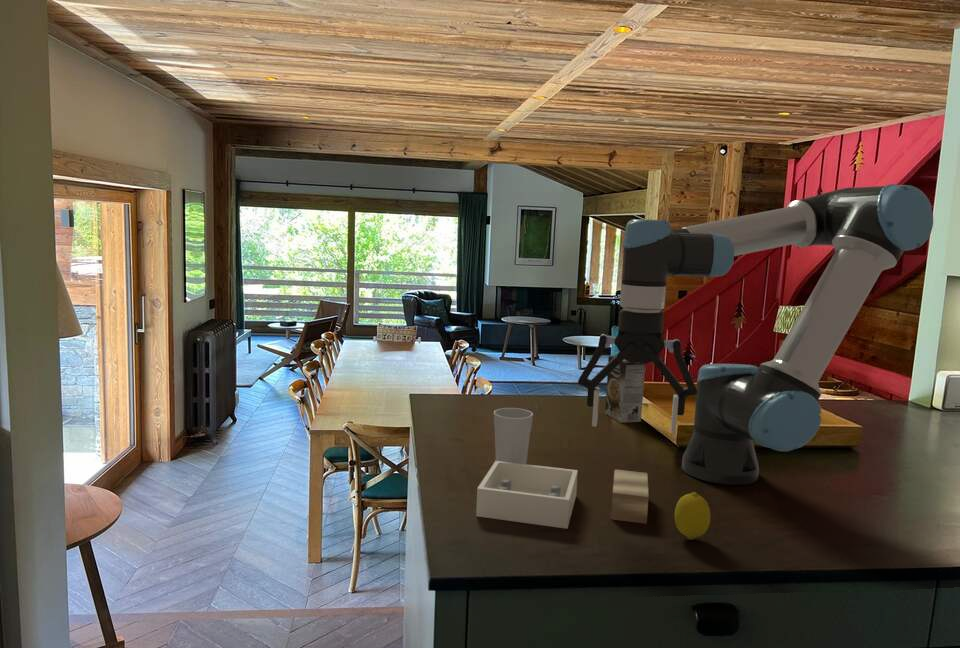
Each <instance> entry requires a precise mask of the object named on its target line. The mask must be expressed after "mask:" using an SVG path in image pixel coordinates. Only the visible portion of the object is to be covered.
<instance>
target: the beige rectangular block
mask: <svg viewBox="0 0 960 648" xmlns="http://www.w3.org/2000/svg"><path fill="white" fill-rule="evenodd" d="M613 473H614V474H613V485H612V495H611V496H612V499H611V509H610V510H611V513H610V519H611V520H615V521H621V522H623V521H624V522H629V523H630V522H632V523H638V524H647V522H648V510H649V509H648V508H649V496H650V495H649V481H648V479H649V478H648V472H643V471H642V472H641V471H633V470H632V471H631V470H624V469H614V472H613Z"/></svg>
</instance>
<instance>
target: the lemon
mask: <svg viewBox="0 0 960 648" xmlns="http://www.w3.org/2000/svg"><path fill="white" fill-rule="evenodd" d="M674 523H675V526H676V529H677V530H678V531H679V532H680V533H681V534H682V535H684V536H685V537H686V539H688V540H690V541H691V540H694V539H696V538H699V537H701V536H703V535H705V534H706V532H707V531H708V530H709V527H710V524H711V509H710V506H709V503H708V502H707V500H706V499H705V498H704V497H702V496H701V495H700V494H698V493H697V492H695V491H693V492H690V493H687V494H684V495H683V496H681V497H680V498H679V500H678V501H677V504H676V506H675V508H674Z"/></svg>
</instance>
